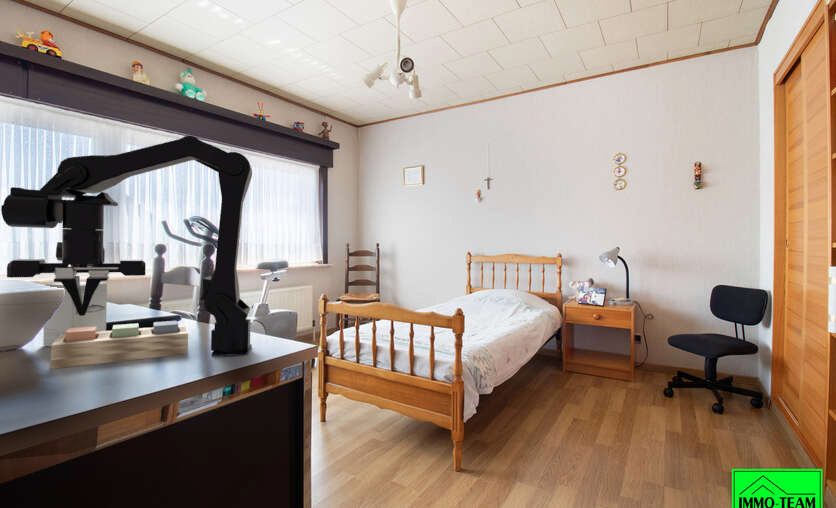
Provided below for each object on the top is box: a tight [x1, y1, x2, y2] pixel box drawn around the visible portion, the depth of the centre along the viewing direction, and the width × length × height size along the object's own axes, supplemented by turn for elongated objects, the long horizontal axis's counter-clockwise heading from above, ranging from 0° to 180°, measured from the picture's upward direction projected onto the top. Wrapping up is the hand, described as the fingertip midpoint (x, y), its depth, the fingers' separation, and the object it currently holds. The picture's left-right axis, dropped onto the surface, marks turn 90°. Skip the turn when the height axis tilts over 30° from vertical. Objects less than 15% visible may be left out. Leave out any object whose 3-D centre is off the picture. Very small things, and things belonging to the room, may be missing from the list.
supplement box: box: [42, 281, 108, 347], centre depth 83 cm, size 7×7×13 cm
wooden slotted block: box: [50, 324, 189, 370], centre depth 77 cm, size 20×9×4 cm, turn 125°
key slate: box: [152, 320, 179, 334], centre depth 80 cm, size 4×4×2 cm
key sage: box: [111, 322, 140, 338], centre depth 76 cm, size 4×4×2 cm
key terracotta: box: [66, 326, 97, 341], centre depth 73 cm, size 4×4×2 cm
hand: (82, 315), depth 73 cm, fingers closed
